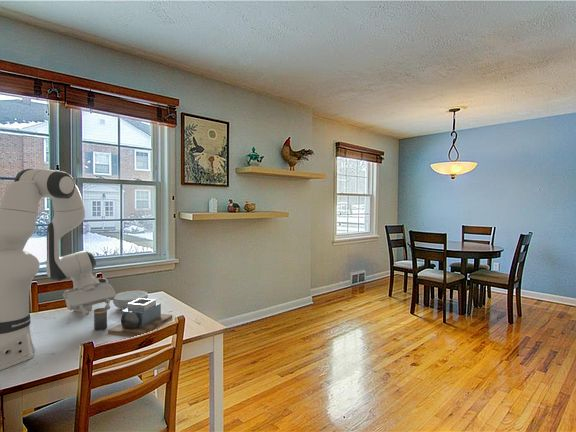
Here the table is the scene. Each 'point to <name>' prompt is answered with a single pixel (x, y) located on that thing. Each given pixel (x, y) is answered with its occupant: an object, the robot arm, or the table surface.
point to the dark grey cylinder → (100, 319)
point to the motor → (140, 318)
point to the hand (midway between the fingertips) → (97, 311)
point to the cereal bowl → (128, 298)
